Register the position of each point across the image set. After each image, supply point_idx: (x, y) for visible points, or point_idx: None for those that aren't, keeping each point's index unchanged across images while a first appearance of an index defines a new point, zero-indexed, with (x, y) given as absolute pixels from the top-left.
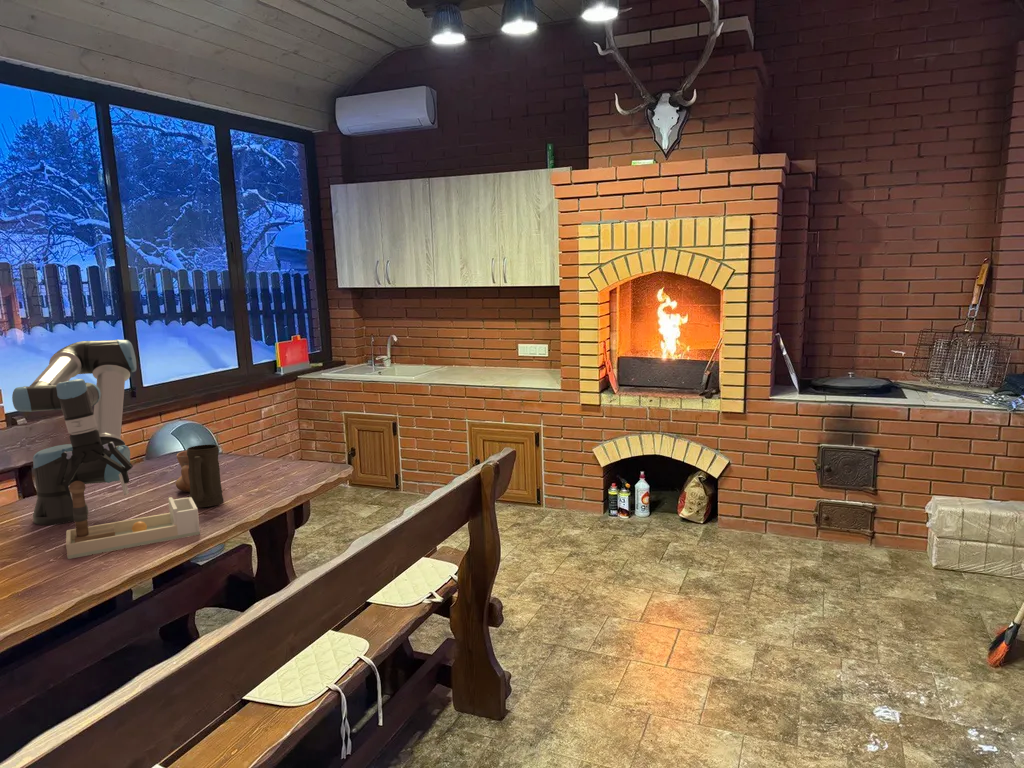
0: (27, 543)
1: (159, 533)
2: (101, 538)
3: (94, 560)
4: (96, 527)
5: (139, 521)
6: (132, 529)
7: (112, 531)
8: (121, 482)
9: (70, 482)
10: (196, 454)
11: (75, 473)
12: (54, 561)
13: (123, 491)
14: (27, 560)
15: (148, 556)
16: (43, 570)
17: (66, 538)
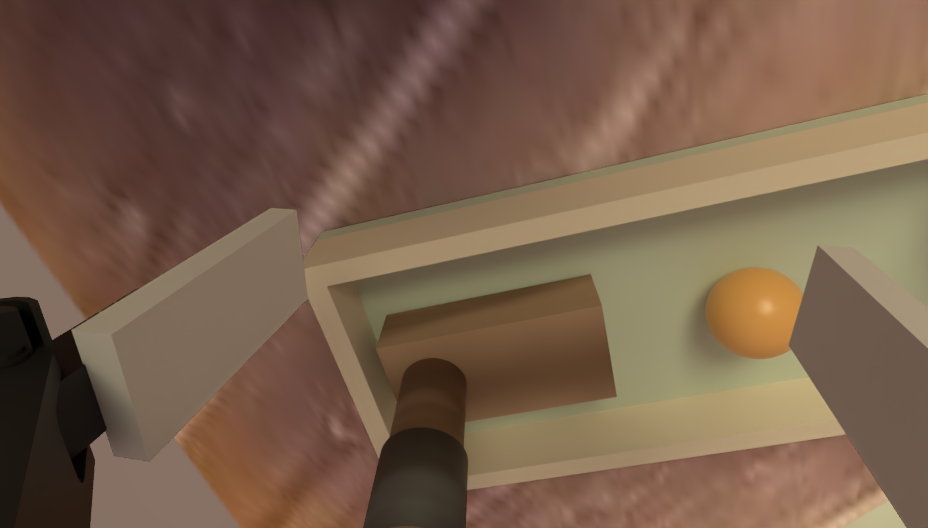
0: (61, 148)
1: None
2: (556, 468)
3: (529, 487)
4: (478, 249)
5: (781, 335)
6: (712, 334)
7: (602, 387)
8: (877, 466)
9: (55, 361)
10: None
11: (37, 524)
12: (356, 448)
13: (811, 375)
14: (223, 402)
15: (751, 515)
16: (351, 515)
17: (359, 412)
